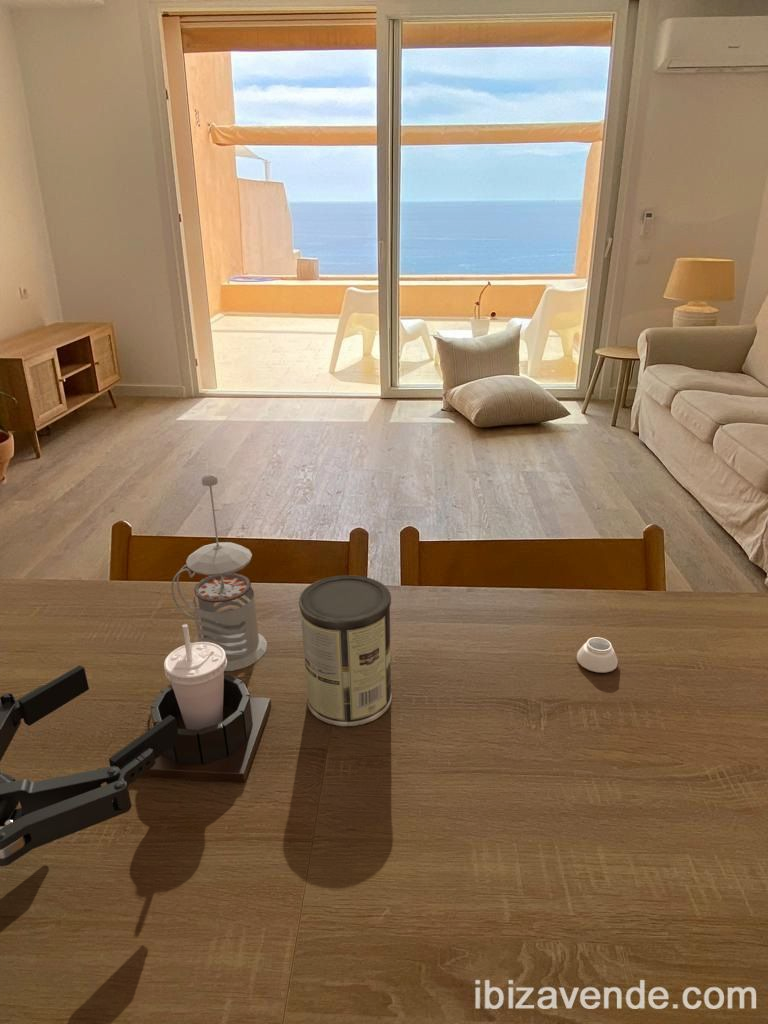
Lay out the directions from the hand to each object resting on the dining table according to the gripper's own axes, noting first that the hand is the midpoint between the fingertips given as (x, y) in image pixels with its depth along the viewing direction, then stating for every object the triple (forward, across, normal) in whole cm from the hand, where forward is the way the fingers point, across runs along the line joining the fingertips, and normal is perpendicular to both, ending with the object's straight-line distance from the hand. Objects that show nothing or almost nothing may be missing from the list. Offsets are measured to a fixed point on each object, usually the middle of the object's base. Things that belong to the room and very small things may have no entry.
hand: (127, 701), depth 67 cm
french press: (+21, -10, -11) cm, 26 cm away
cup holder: (+8, 0, -11) cm, 13 cm away
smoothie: (+8, +1, -10) cm, 13 cm away
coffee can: (+22, +10, -11) cm, 27 cm away
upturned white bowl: (+45, +32, -11) cm, 57 cm away
